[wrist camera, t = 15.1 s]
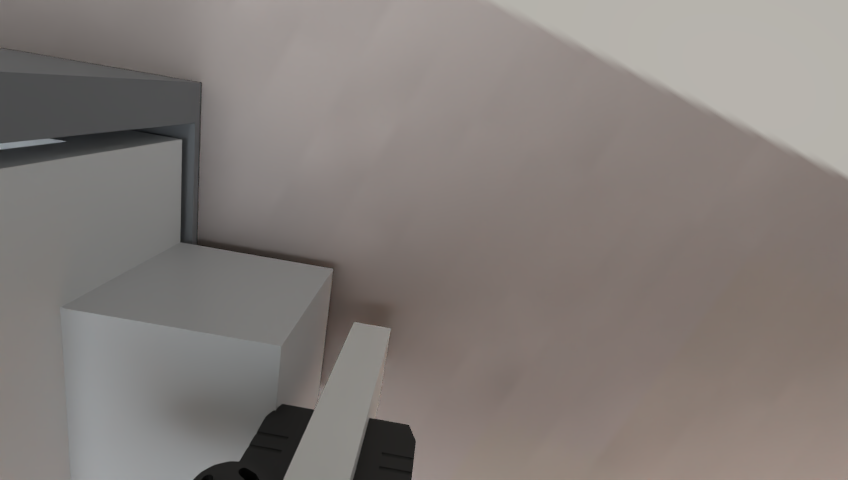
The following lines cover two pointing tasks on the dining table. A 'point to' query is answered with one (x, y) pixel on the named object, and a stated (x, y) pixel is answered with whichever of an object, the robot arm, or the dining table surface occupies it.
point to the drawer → (136, 319)
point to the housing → (101, 110)
